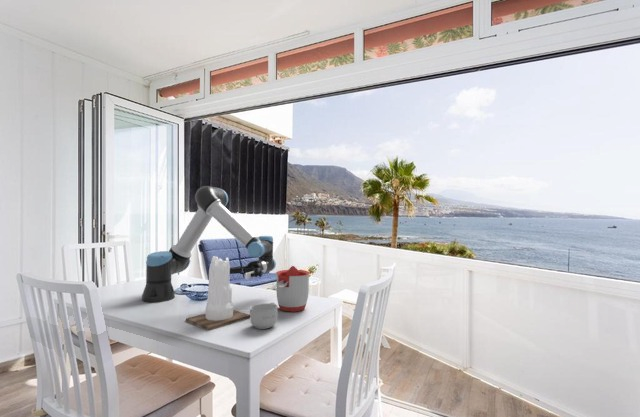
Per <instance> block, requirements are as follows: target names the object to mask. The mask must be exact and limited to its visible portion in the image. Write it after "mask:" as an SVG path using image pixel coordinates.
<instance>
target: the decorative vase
mask: <svg viewBox="0 0 640 417" xmlns="http://www.w3.org/2000/svg"><path fill="white" fill-rule="evenodd" d="M211 257H212V258H211V260H210V264H209V270H208V290H207V302H206V305H205V313H206V319H207V320H213V321H220V320H226V319H229V318H231V317H232V316H233V310H234V304H233V300H232V298H233V290H232V289H233V288H232V286H231V282H230V281H231V280H230V276H231V274H230V268H231V264H230V258H229V257H225V260H224V259H222V258H221V257H219V256H216V255H213V256H211Z"/></svg>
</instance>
